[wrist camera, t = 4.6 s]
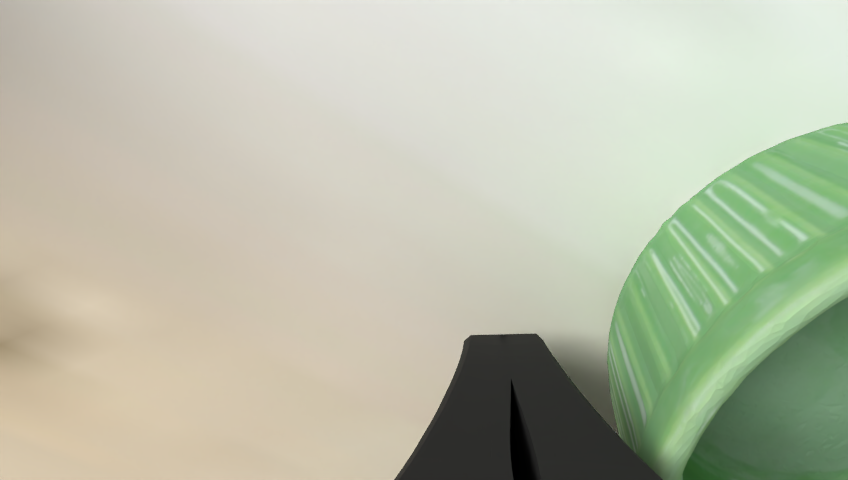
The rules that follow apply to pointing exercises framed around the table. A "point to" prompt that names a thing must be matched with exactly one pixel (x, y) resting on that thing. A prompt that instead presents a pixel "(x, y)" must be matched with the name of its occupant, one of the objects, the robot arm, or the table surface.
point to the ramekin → (743, 324)
